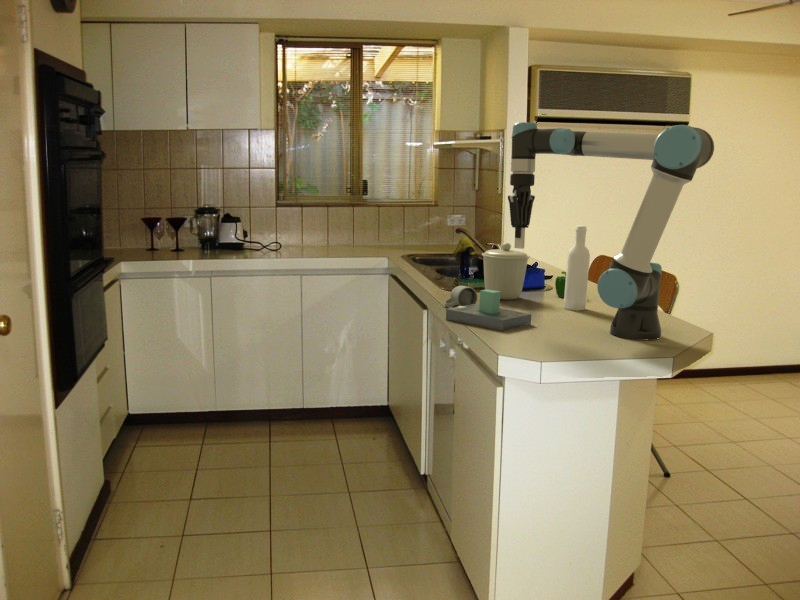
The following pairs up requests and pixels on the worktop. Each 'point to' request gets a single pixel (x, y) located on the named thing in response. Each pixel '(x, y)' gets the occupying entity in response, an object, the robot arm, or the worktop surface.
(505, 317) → the socket
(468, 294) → the ceramic mug
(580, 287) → the bottle
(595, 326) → the worktop surface
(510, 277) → the canister
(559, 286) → the bell pepper
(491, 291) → the plug
